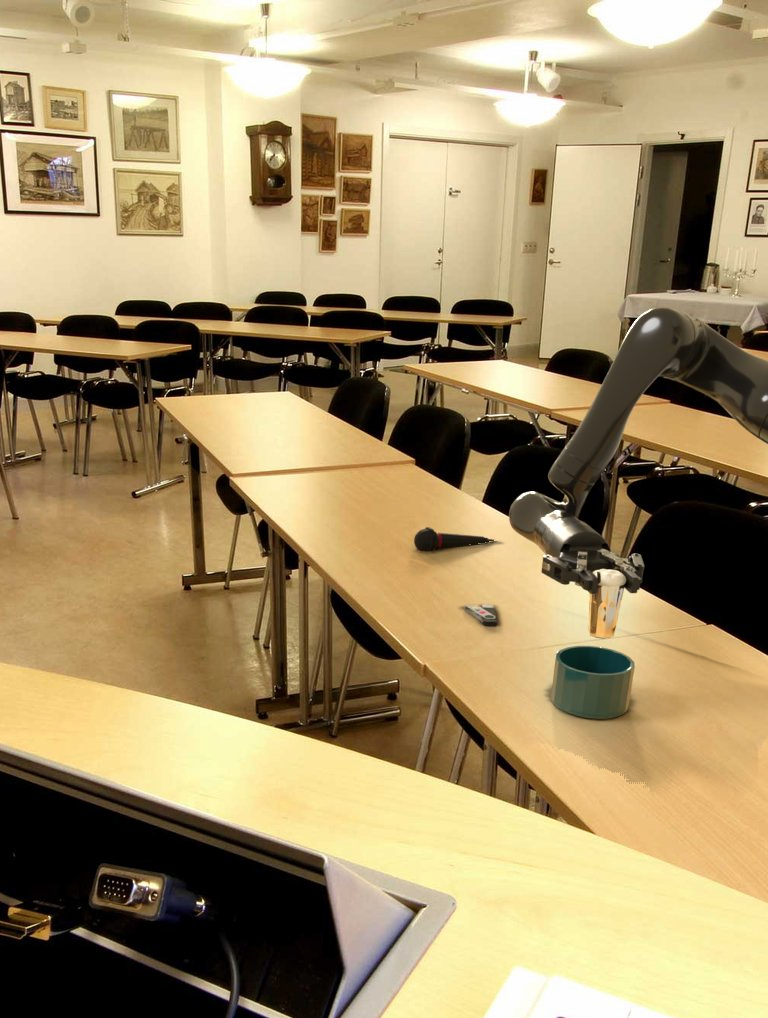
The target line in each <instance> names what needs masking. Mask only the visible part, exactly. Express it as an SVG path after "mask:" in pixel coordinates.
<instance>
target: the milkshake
mask: <svg viewBox="0 0 768 1018" xmlns="http://www.w3.org/2000/svg"><path fill="white" fill-rule="evenodd" d="M593 574H594V575H595V576H596V577H597V578H598V588H597V593H596V594H590V593H589V592H588V593H589V594H588V595H589V600H588V601H589V603H588V633H589V635H590V636H591V637H593V638H596V639H603V640H605V639H612V638H613V637H614V636H615V633H616V628H617V623H618V619H619V614H620V608H621V604H622V600H623V595H624V591H625V588H624V587H625V583H626V577H625V576H624V575H623V574H622V572H619V571H617V570H607V569H600V570H596V571H594V572H593Z"/></svg>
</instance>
